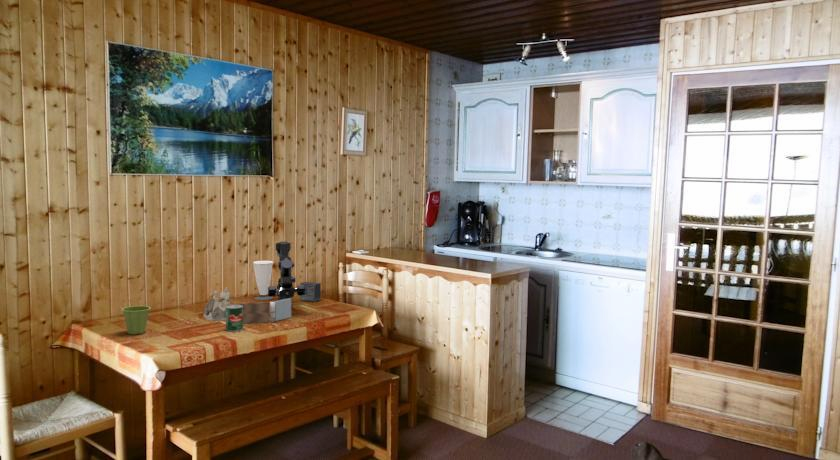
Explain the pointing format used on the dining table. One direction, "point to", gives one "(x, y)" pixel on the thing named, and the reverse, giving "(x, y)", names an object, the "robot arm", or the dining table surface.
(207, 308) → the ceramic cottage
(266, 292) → the cup
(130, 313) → the plant pot
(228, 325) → the canned tomato
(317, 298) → the small box
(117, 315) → the dining table surface
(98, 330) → the dining table surface
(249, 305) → the walnut leaf
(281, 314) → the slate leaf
